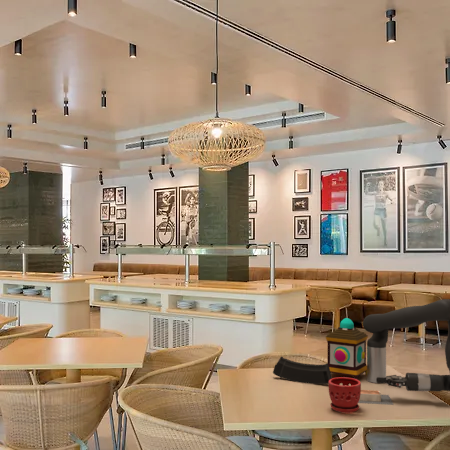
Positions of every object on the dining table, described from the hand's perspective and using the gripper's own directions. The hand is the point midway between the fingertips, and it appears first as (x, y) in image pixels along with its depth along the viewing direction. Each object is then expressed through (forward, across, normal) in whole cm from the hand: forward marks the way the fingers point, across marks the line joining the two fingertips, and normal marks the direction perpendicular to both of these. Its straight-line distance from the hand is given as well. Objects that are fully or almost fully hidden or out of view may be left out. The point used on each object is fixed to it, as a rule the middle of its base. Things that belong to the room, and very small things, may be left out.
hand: (376, 380), depth 239 cm
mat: (+5, -1, +9) cm, 10 cm away
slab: (-2, 0, +7) cm, 7 cm away
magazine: (+32, -27, +9) cm, 43 cm away
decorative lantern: (+10, -42, +9) cm, 44 cm away
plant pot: (+15, +15, +9) cm, 23 cm away
